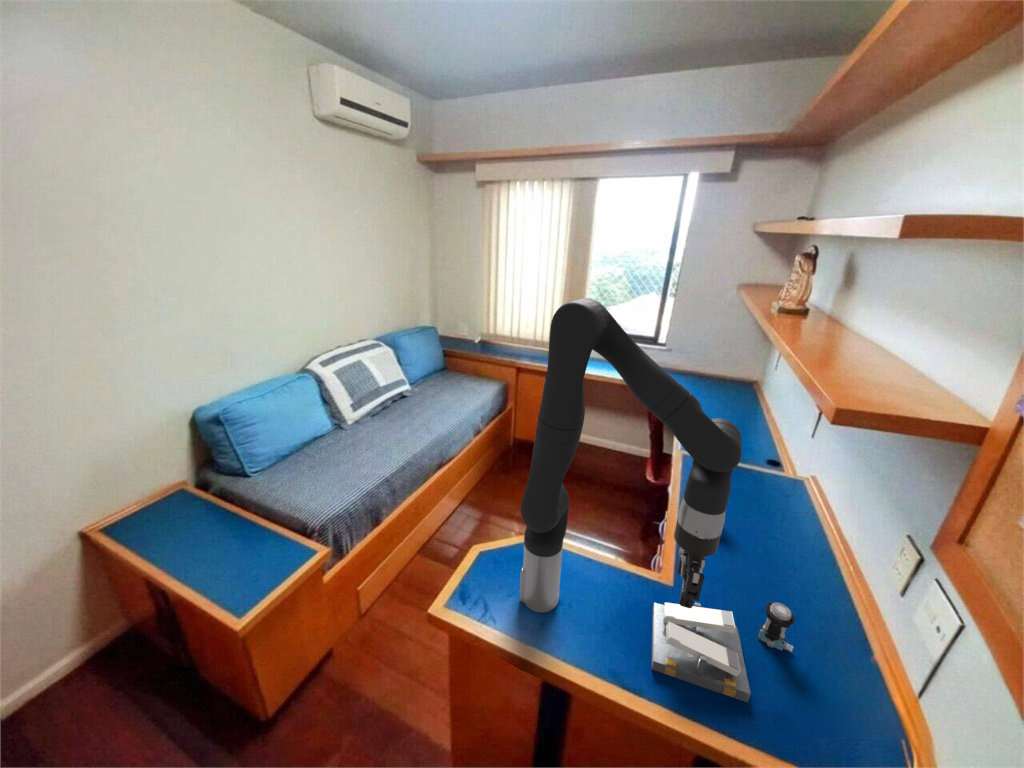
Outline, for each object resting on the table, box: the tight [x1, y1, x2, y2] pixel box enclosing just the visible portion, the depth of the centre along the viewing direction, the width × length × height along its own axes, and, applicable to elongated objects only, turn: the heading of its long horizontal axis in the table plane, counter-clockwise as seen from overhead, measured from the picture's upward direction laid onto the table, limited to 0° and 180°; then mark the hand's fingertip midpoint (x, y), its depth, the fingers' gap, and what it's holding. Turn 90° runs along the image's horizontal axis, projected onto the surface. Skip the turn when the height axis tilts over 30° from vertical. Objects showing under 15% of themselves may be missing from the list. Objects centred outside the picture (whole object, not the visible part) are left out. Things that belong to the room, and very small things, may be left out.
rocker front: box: [666, 622, 741, 676], centre depth 80 cm, size 14×4×2 cm, turn 71°
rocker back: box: [664, 602, 736, 633], centre depth 86 cm, size 14×4×2 cm, turn 70°
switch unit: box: [651, 601, 752, 703], centre depth 84 cm, size 18×15×7 cm
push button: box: [757, 601, 796, 653], centre depth 85 cm, size 7×5×10 cm
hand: (684, 589), depth 77 cm, fingers open, 7 cm apart
